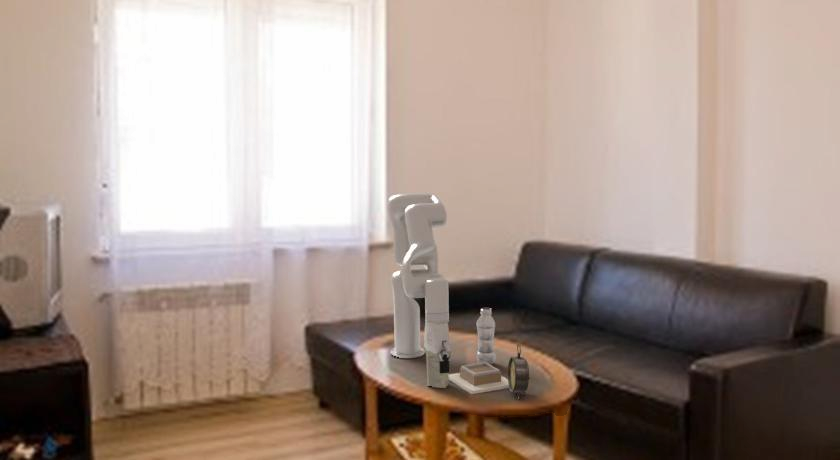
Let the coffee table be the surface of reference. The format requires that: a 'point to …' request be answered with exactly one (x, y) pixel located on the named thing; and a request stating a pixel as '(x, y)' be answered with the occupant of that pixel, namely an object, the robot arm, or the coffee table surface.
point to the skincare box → (435, 371)
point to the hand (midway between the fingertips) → (437, 368)
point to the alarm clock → (518, 374)
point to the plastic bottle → (486, 337)
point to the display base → (480, 387)
